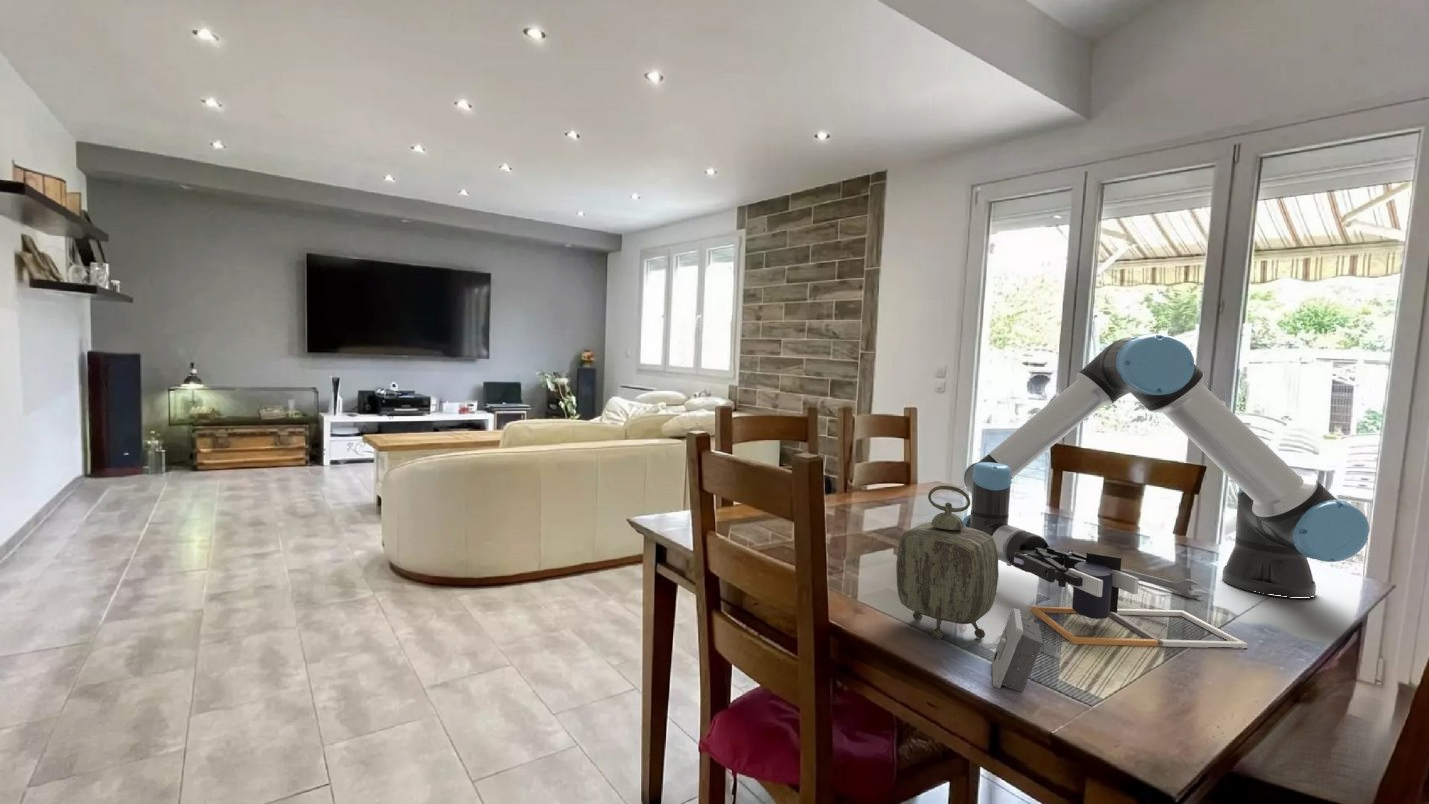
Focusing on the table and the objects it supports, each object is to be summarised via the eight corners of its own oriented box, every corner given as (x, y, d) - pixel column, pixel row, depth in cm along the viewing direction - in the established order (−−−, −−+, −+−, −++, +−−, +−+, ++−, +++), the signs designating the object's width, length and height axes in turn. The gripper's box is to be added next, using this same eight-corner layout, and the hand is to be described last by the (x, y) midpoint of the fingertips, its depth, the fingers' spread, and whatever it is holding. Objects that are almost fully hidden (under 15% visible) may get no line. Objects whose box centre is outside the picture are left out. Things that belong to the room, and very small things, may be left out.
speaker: (1083, 601, 119) (1087, 547, 118) (1117, 612, 115) (1123, 557, 113) (1064, 614, 115) (1069, 558, 113) (1100, 626, 110) (1105, 568, 108)
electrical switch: (991, 662, 99) (1001, 603, 98) (1028, 672, 97) (1038, 612, 96) (992, 690, 90) (1002, 626, 89) (1033, 702, 88) (1044, 636, 87)
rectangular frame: (1182, 614, 121) (1182, 610, 121) (1246, 648, 106) (1247, 643, 106) (1030, 610, 121) (1030, 606, 121) (1073, 643, 106) (1073, 639, 106)
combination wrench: (1096, 559, 146) (1200, 583, 129) (1099, 558, 146) (1203, 582, 129) (1096, 575, 146) (1199, 602, 129) (1099, 575, 146) (1202, 601, 129)
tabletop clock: (995, 639, 107) (1003, 489, 106) (976, 656, 100) (984, 496, 99) (911, 615, 117) (917, 477, 115) (889, 630, 110) (895, 483, 108)
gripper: (1059, 565, 133) (1163, 605, 111) (977, 569, 128) (1068, 613, 106) (1061, 528, 133) (1166, 562, 111) (979, 532, 128) (1071, 568, 106)
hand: (1118, 587), depth 108 cm, fingers closed on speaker, 7 cm apart
